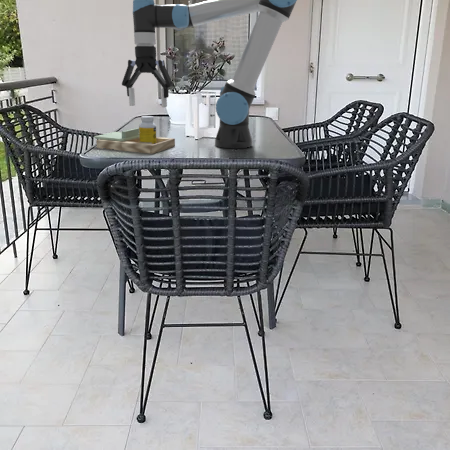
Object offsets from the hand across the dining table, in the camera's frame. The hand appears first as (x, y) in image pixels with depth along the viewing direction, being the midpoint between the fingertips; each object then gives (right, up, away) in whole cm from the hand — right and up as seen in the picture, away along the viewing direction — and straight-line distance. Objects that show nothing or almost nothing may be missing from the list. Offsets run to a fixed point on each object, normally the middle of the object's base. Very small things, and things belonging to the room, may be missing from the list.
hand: (148, 106), depth 178 cm
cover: (-13, -10, +8) cm, 18 cm away
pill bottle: (-1, -15, +5) cm, 16 cm away
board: (-6, -14, +7) cm, 17 cm away
